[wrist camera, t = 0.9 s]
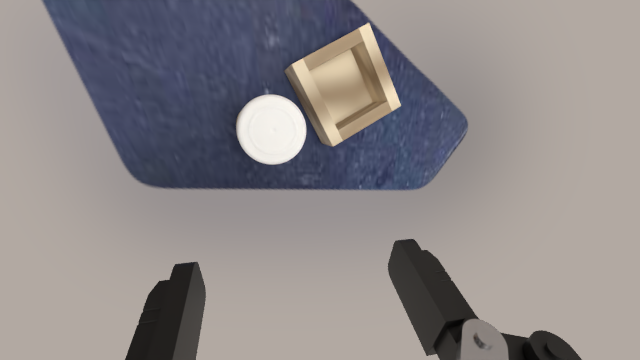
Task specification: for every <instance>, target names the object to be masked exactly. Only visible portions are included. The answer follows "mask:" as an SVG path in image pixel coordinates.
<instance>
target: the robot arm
mask: <svg viewBox="0 0 640 360" xmlns="http://www.w3.org/2000/svg"><path fill="white" fill-rule="evenodd" d="M388 271H389V275H390V278H391V280H392V283H393V285H394V287H395V289H396V291H397V293H398V295H399V298H400V300H401V301H402V303H403V306H404V308H405V310H406V312H407V314H408V317H409V319H410V321H411V323H412V325H413V327H414V330H415V331H416V334H417V336H418V338H419V340H420V342H421V344H422V347H423V349H424V351H425V353H426V355H427V356H428V355H433V354H437V355H438V357H439V359H440V360H581V358H580V357H579V356H578V354H577V353H576V352H575V351H574V350H573V349H572V347H570V345H569V344H567V343H566V342H565V341H564V340H563V339H561V338H560V337H558V336H556V335H554V334H552V333H550V332H547V331H535V332H534V333H533V334H532V335H531V336H530V337H529V338H526V337H520V336H514V335H509V334H504V333H500V332H499V331H498V330H497V329H496V328H495V327H493V326H492V325H491V324H489V323H487V322H485V321H483V320H480V319H479V318H478V317H477V316H476V315H475V314H474V312H473V310H472V309H471V308H470V306H469V305H468V303H467V302H466V300H465V299H464V298H463V296H462V294H461V293H460V291H459V290H458V288H457V287H456V285H455V284H454V282H453V281H451V278H450V277H449V275H448V274H447V272H445V269H444V268H443V266H442V265H441V263H440V262H439V260H438V259H437V258H436V257H434V256H433V255H432V254H431V253H430V252H428V251H427V250H421V248H420V247H419V245H418V244H417V242H416V241H415V240H414V239H407V240H398V241H395V243H394V245H393V249H392V252H391V256H390V259H389V263H388ZM205 298H206V292H205V285H204V281H203V278H202V274H201V271H200V268H199V264H198V262H191V263H182V264H175V266H174V267H173V270H172V273H171V277H170V280H164V281H159V282H158V283H157V285H156V286H155V287H154V289H153V290H152V291H151V292H150V293H149V295H148V298H147V300H146V303H145V306H144V309H143V313H142V314H141V317H140V320H139V325H138V326H137V328H136V331H135V334H134V336H133V339H132V342H131V345H130V347H129V350H128V353H127V356H126V359H125V360H196V354H197V348H198V342H199V336H200V330H201V324H202V318H203V312H204V306H205Z"/></svg>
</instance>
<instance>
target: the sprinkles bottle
mask: <svg viewBox="0 0 640 360" xmlns="http://www.w3.org/2000/svg"><path fill="white" fill-rule="evenodd" d="M236 131H237V137H238V140H239V143H240V145H241V146H242V148H243V149H244V151H245V152H246V153H247V154H248V155H249V156H250V157H251V158H253V159H254V160H256V161H258V162H261V163H264V164H272V165H274V164H281V163H284V162H286V161H289V160H290V159H292V158H293V157H294V156H295V155H297V154H298V152H299V151H300V150H301V148H302V146H303V144H304V141H305V138H306V123H305V119H304V117H303V115H302V113H301V111H300V110H299V108H298V107H297V106H296V105H295V104H294V103H293V102H292V101H290V100H289V99H287V98H285V97H282V96H279V95H263V96H259V97H257V98H254V99H253V100H251V101H250V102H248V103H247V104H246V105H245V106H244V107H243V109H242V110H241V111H240V113H239V114H238V116H237V120H236Z"/></svg>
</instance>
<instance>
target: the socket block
mask: <svg viewBox="0 0 640 360" xmlns="http://www.w3.org/2000/svg"><path fill="white" fill-rule="evenodd" d="M285 73H286V75H287V77H288V79H289V81H290V83H291V85H292V87H293V89H294V91H295V93H296V94H297V96H298V98H299V100H300V102H301V104H302V106H303V108H304V110H305V112H306V114H307V116H308V118H309V120H310V122H311V123H312V125H313V127H314V129H315V131H316V133H317V135H318V137H319V139H320V141H321V143H323V144H326V145H329V146H332V147H333V146H335V145H337V144H338V143H340V142H342V141H343V140H345V139H347V138H348V137H350V136H352V135H353V134H355V133H357V132H358V131H360V130H362V129H363V128H365V127H367V126H368V125H370V124H372V123H373V122H375V121H377V120H378V119H380V118H382V117H383V116H385V115H387V114H388V113H390V112H391V111H393V110H395V109H396V108H398V107H400V106H401V104H400V102H399V99H398V96H397V94H396V91H395V89H394V86H393V83H392V81H391V78H390V76H389V73H388V71H387V68H386V65H385V63H384V60H383V58H382V55H381V52H380V50H379V47H378V45H377V42H376V40H375V37H374V34H373V32H372V29H371V27H370V24H369V23H368V24H366V25H364V26H362V27H360V28H358V29H357V30H355V31H353V32H351V33H349V34H347V35H345V36H344V37H342V38H340V39H338V40H336V41H334V42H332V43H330V44H329V45H327V46H325V47H323V48H321V49H319V50H317V51H316V52H314V53H312V54H310V55H308V56H306V57H304V58H303V59H301V60H299V61H297V62H295V63H293V64H291V65H290V66H289V67H288V68H287V69H286V70H285Z"/></svg>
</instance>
